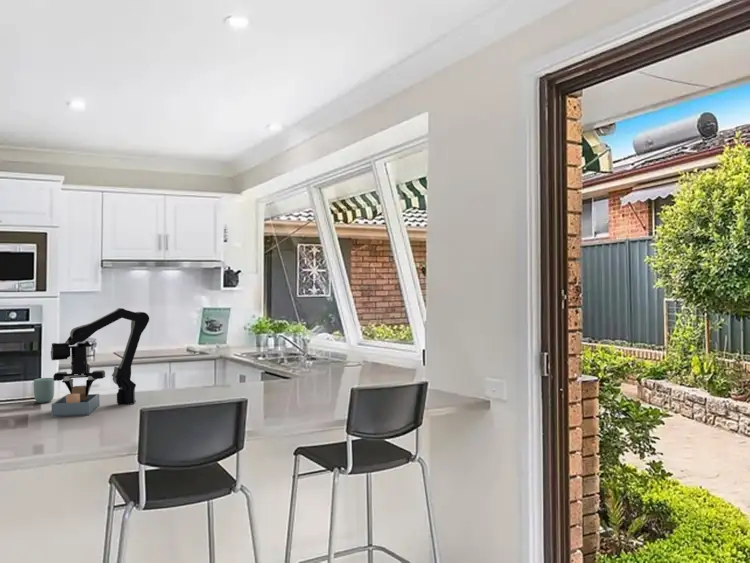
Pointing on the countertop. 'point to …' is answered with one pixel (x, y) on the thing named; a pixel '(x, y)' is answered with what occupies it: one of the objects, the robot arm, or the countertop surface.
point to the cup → (43, 390)
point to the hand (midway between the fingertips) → (80, 396)
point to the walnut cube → (80, 391)
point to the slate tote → (75, 406)
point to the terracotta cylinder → (73, 398)
